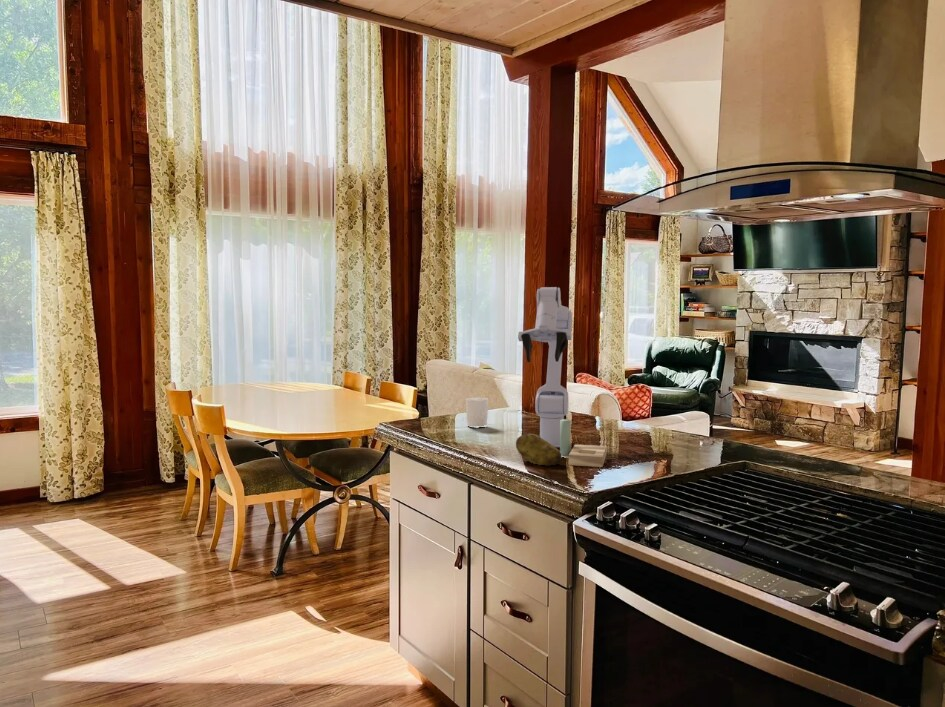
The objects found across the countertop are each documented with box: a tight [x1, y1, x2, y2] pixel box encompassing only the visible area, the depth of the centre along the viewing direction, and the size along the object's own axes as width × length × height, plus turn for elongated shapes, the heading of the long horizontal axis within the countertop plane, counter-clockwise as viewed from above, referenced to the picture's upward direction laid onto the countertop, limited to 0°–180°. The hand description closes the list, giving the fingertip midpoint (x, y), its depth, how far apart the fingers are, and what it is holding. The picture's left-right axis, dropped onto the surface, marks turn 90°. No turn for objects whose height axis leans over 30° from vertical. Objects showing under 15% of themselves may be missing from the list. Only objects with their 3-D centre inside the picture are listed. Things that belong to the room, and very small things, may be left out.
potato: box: [515, 432, 562, 467], centre depth 194 cm, size 8×13×8 cm, turn 37°
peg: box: [559, 418, 572, 456], centre depth 204 cm, size 3×3×10 cm
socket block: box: [568, 444, 607, 468], centre depth 198 cm, size 14×9×3 cm, turn 165°
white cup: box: [465, 396, 489, 427], centre depth 250 cm, size 8×8×10 cm
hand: (542, 359), depth 191 cm, fingers open, 7 cm apart
